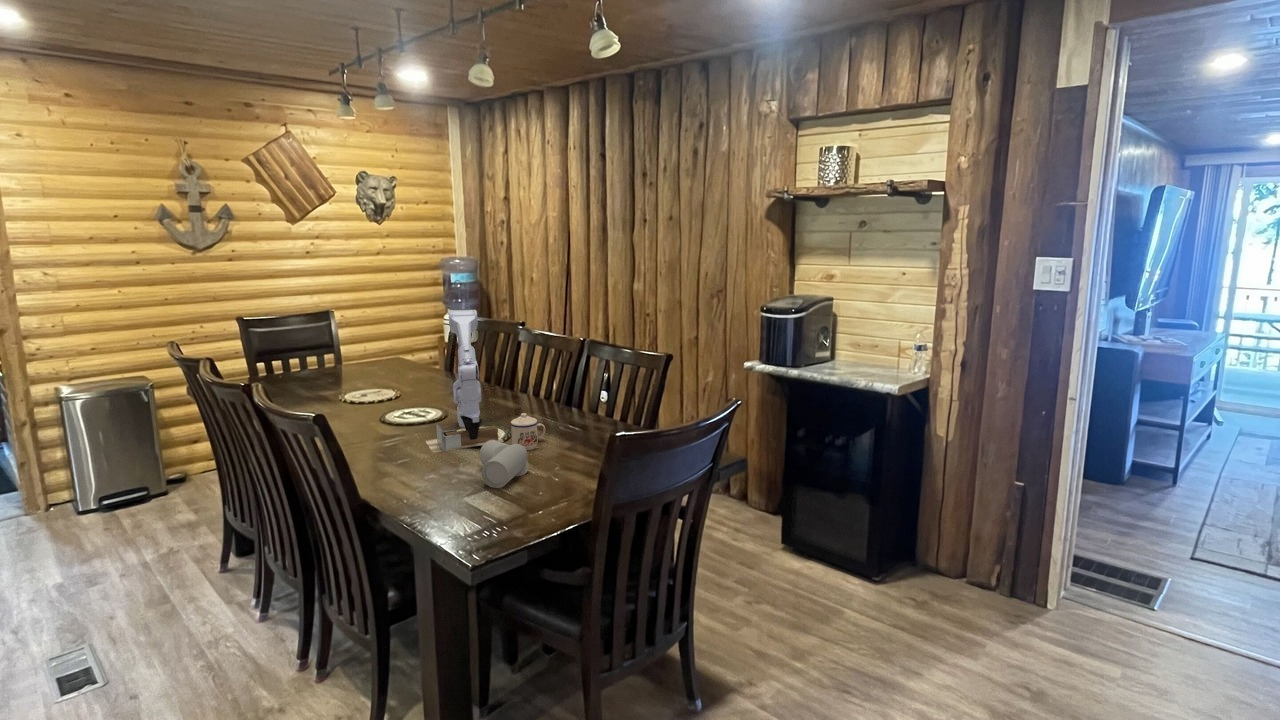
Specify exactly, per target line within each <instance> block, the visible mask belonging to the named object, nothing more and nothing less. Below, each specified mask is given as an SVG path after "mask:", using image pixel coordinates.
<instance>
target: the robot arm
mask: <svg viewBox="0 0 1280 720" xmlns="http://www.w3.org/2000/svg"><path fill="white" fill-rule="evenodd" d="M478 323H479V321H478V311H477V310H476V309H466V310H465V309H464V310H449V311H448V325H449V330H450V333H452V334H455V335H456V337H457V345H458V349H457V356H458V357H457V359H458V366H457V373H458V379H457V380H456V381H454V382H453V384H452V385H453V387H452V390H453V392H452V394H453V395H452V396H453V403H454V405H457V407H456V414H457V417H456V419H457V423H458V426H459V427H460V428H464V430H468V432H469V436H470V439H471V440H474V439H477V436H478V430H479V428H481V427H480V426H481V424H482V422H483V419H482V418H480V417H479V416H480V414H481V411H480V403H481V402H482V389H481V383H480V381H479V377H480V371H479V366H478V365H479V364H478V361H477V358H476V349H475V348H474V346H472V339H471V338H472V333H475V332H476V331H477V329H478V325H479V324H478Z"/></svg>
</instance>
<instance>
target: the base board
mask: <svg viewBox="0 0 1280 720" xmlns="http://www.w3.org/2000/svg"><path fill="white" fill-rule="evenodd" d="M496 441H499V442H502V443H505V440H503V438H501V436H499V435H498V440H496ZM424 442H425V443H426V444H427V446H428V448H429V449H430V451H431V452H432V453H435V454H436V453H439V452H440V453H442V452H446V451H447V452H448V451H452V450H453V451H454V450H460V449H467V448H474V447H480V446H481V447H482V446H483V445H484V444H485V443H486V442H487V441H486V442H479V443H473V444H466V445H461V448H456V449H449V450H444V451H442V450H441V448H440V447H439V446H438V443H437V438H434V439H426V440H424Z"/></svg>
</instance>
